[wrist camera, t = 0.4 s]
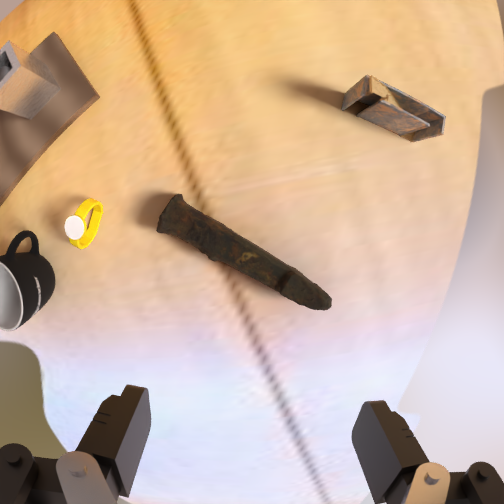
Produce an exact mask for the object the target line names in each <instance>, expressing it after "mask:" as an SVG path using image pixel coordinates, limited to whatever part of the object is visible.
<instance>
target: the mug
mask: <svg viewBox="0 0 504 504" xmlns="http://www.w3.org/2000/svg"><path fill="white" fill-rule="evenodd" d="M26 237H30V238H31V241H32V248H31V250H30V252H24V253H15V252H16V249H17V247H18V246H19V244H20V243H21V241H22V240H23V239H25V238H26ZM54 288H55V274H54V271H53V268H52V266H51V265H50V263H49V262H48V261H47V260H46V259H45V258H44V257H43V256H41V255H40V254H39V244H38V239H37V237H36V235H35V234H34V233H33V232H31V231H22V232H20V233H19V234H18V235H16V236H15V238H14V239H13V240H12V242H11V244H10V246H9V248H8V250H7V252H6V254H5V255H2V256H0V329H1V330H3V331H13V330H15V329H17V328H18V327H20V326H21V325H23V324H24V323H25V322H26V321H28V320H29V319H30V318H31V317H32V316H33V315H35V314H36V313H37V312H38V311H39V310H40V309H41V308H42V307H43V306H44V305H45V304H46V303H47V301H48V300H49V299H50V297H51V295H52V294H53V291H54Z"/></svg>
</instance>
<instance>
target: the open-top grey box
mask: <svg viewBox="0 0 504 504" xmlns="http://www.w3.org/2000/svg"><path fill="white" fill-rule="evenodd" d="M3 66H7V67H9V68H11V70H10V71H9V72H8V73H7V75H6V76H5V77H4V78H3V79H2V80H1V82H0V109H1V110H4V111H7V112H10V113H13V114H16V115H19V116H22V117H25V118H28V119H31V120H32V119H33V117H34V116H35V115H36V114H37V113H38V112H39V111H40V110H41V109H42V108H43V107H44V106H45V105H46V104H47V103H48V101H49V100H50V99H51V98H52V97H53V96H54V95H55V94H56V93H57V92H58V91H60V90H61V88H60V86H59V85H58V83H57V82H56V80H55V78H54V77H53V75H52V73H51V72H50V70H49V68H48V67H47V65H46V64H45V63H43V62H42V61H40V60H39V59H37V58H35V57H34V56H32V55H31V54H29V53H28V52H26V51H25V50H23V49H22V48H20V47H19V46H17V45H16V44H14V43H12V42H11V41H8V42H7V43H6V44H5V45H4V46H3V47H2V48H1V49H0V69H1V68H2V67H3Z"/></svg>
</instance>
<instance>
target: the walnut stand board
mask: <svg viewBox="0 0 504 504" xmlns="http://www.w3.org/2000/svg"><path fill="white" fill-rule="evenodd" d="M30 54H31V55H32V56H34V57H35V58H37V59H39V60H40V61H42V62H43V63H45V64H46V65H47V67H48V68H49V70H50V72H51V73H52V75H53V77H54V78H55V80H56V82H57V83H58V85H59V86H60V88H61V90H60V91H58V92H57V93H56V94H55V95H54V96H53V97H52V98H51V99H50V100H49V101H48V103H47V104H46V105H45V106H44V107H43V108H42V109H41V110H40V111H39V112H38V113H37V114H36V115H35V116H34V117H33V119H32V120H31V119H28V118H25V117H22V116H19V115H16V114H13V113H10V112H7V111H4V110H1V109H0V206H1V205H2V204H3V202H4V201H5V199H6V198H7V197H8V195H9V194H10V193H11V191H12V190H13V189H14V188H15V186H16V185H17V184H18V182H19V181H20V180H21V179H22V177H23V176H24V175H25V174H26V173H27V171H28V170H29V169H30V168H31V167H32V165H33V164H34V163H35V162H36V161H37V160H38V158H39V157H40V156H41V155H42V154H43V153H44V152H45V151H46V150H47V148H48V147H49V146H50V145H51V144H52V143H53V142H54V141H55V140H56V139H57V138H58V137H59V136H60V135H61V134H62V133H63V132H64V131H65V130H66V129H67V128H68V127H69V126H70V125H71V124H72V123H73V122H74V121H75V120H76V119H77V118H78V117H79V116H80V115H81V114H82V113H83V112H84V111H85V110H86V109H88V108H89V107H90V106H91V105H92V104H93V103H94V102H95V101H96V100H98V99H99V98H100V96H99V95H98V93H97V92H96V91H95V89H94V88H93V86H92V85H91V83H90V82H89V80H88V79H87V78H86V76H85V75H84V73H83V72H82V70H81V69H80V67H79V66H78V64H77V63H76V61H75V60H74V59H73V57H72V56H71V54H70V53H69V51H68V50H67V48H66V47H65V45H64V44H63V42H62V41H61V39H60V38H59V36H58V35H57V34H56V33H55V32H53V33H51V34H50V35H49V36H48V37H47V38H46V39H45V40H44V41H43V42H42V43H41V44H40V45H39V46H38V47H37V48H36V49H34V50H33V51H32V52H31V53H30ZM10 70H11V68H9V67H7V66H3V67H2V68H1V69H0V82H1V80H2V79H3V78H4V77H5V76H6V75H7V73H8V72H9V71H10Z"/></svg>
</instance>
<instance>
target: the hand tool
mask: <svg viewBox="0 0 504 504" xmlns="http://www.w3.org/2000/svg"><path fill="white" fill-rule="evenodd" d="M156 231H157V232H158V233H166V234H171V235H174V236H177V237H179V238H180V239H182V240H184V241H186V242H187V243H190V244H191V245H193V246H194V247H196V248H197V249H198V250H200V251H201V252H202V253H204V254H206V255H207V256H208V258H209V259H211V260H213V261H221V262H224V263H226V264H228V265H229V266H231V267H233V268H235V269H236V270H238V271H240V272H242V273H244V274H246V275H248V276H250V277H252V278H254V279H256V280H258V281H260V282H261V283H263V284H265V285H267V286H269V287H270V288H272V289H274V290H276V291H278V292H280V294H281V295H283V296H284V297H286V298H288V299H290V300H293V301H294V302H296V303H297V304H299V305H303V306H306V307H308V308H310V309H314V310H328V309H329V308H330V307H331V306H332V305H331V302H332V298H331V297H330V296H329V295H328V294H327V293H326V292H325V291H324V290H322V289H321V288H320V287H319V286H318V285H317V284H315V283H312V281H310V280H309V279H308V278H306V277H305V276H304V275H303V274H302V273H301V272H299V271H298V270H297V269H296V268H294V267H291V266H289V265H287V264H286V263H284V262H282V261H281V260H279V259H278V258H276V257H274V256H273V255H271V254H270V253H268V252H267V251H265V250H263V249H262V248H260V247H259V246H257V245H255V244H254V243H252V242H250V241H249V240H247V239H245V238H243V237H241V236H240V235H238V234H237V233H235V232H233V231H232V230H231V229H229V228H228V227H226V226H225V225H224V224H222V223H220V222H218V221H216V220H214V219H213V218H211V217H209V216H207V215H204V214H203V213H202V212H200V211H198V210H196V209H195V208H193V207H192V206H190V205H188V204H187V203H186V202H185V201H184V199H183V196H182V194H177V195H175V196H174V197H173V198H172V199H171V200H170V202H169V203H168V205H167V206H166V208H165V209H164V211H163V212H162V214H161V215H160V218H159V222H158V227H157V230H156Z"/></svg>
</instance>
